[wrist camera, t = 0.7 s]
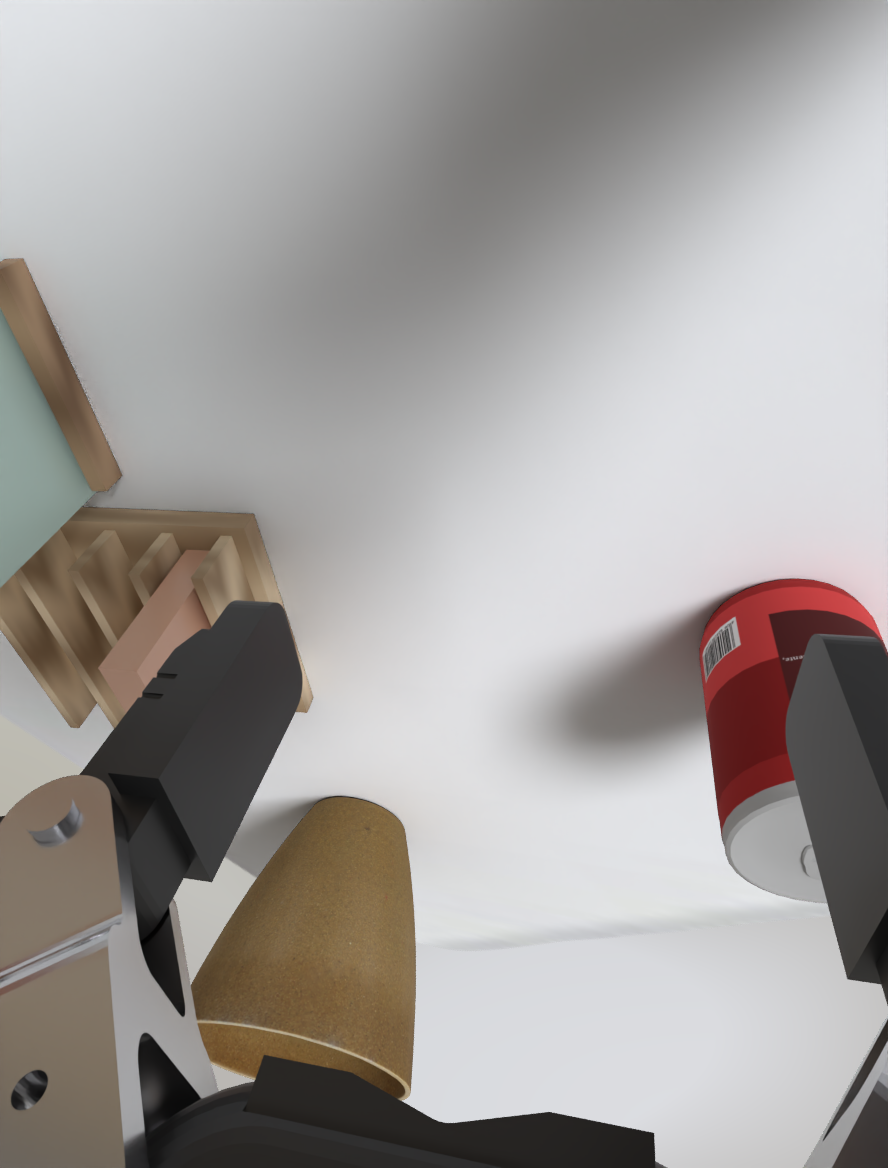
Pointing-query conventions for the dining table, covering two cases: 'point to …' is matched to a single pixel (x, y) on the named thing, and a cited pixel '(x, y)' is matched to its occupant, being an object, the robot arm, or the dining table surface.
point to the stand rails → (55, 374)
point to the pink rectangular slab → (156, 631)
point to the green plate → (31, 463)
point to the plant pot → (320, 954)
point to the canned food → (767, 723)
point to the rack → (122, 592)
